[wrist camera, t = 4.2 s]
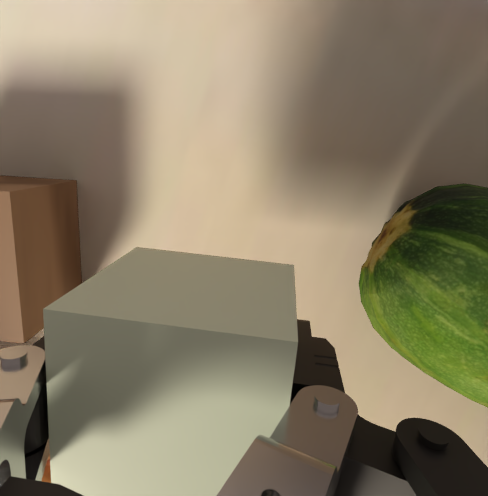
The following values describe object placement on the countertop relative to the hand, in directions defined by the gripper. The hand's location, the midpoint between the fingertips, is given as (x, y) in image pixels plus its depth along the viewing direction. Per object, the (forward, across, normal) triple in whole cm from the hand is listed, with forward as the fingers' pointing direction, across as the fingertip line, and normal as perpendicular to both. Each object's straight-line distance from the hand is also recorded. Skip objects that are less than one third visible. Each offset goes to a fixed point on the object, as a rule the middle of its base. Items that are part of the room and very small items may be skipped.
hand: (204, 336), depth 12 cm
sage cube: (+1, 0, 0) cm, 1 cm away
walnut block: (+7, +11, 0) cm, 13 cm away
